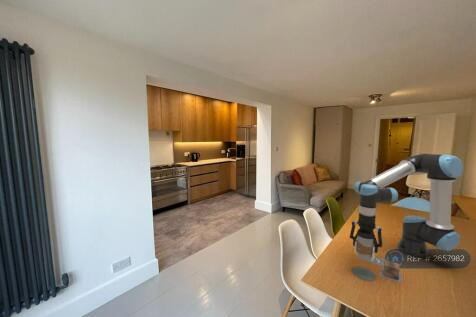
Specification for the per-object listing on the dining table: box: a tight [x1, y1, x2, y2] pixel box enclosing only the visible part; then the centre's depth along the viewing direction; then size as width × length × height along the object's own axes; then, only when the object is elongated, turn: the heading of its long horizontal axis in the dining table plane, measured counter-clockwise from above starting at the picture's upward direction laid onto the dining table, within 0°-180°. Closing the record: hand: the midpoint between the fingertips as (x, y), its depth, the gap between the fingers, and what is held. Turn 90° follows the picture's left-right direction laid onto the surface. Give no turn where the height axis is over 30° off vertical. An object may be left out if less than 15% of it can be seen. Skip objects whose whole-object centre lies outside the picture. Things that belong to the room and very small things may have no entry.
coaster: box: [351, 266, 377, 282], centre depth 110 cm, size 11×11×1 cm
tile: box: [367, 256, 386, 268], centre depth 123 cm, size 9×9×1 cm
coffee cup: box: [356, 228, 376, 262], centre depth 109 cm, size 8×8×15 cm
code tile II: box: [379, 267, 403, 284], centre depth 109 cm, size 9×9×1 cm
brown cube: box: [383, 259, 400, 280], centre depth 109 cm, size 6×6×6 cm
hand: (364, 254), depth 109 cm, fingers closed on coffee cup, 7 cm apart
